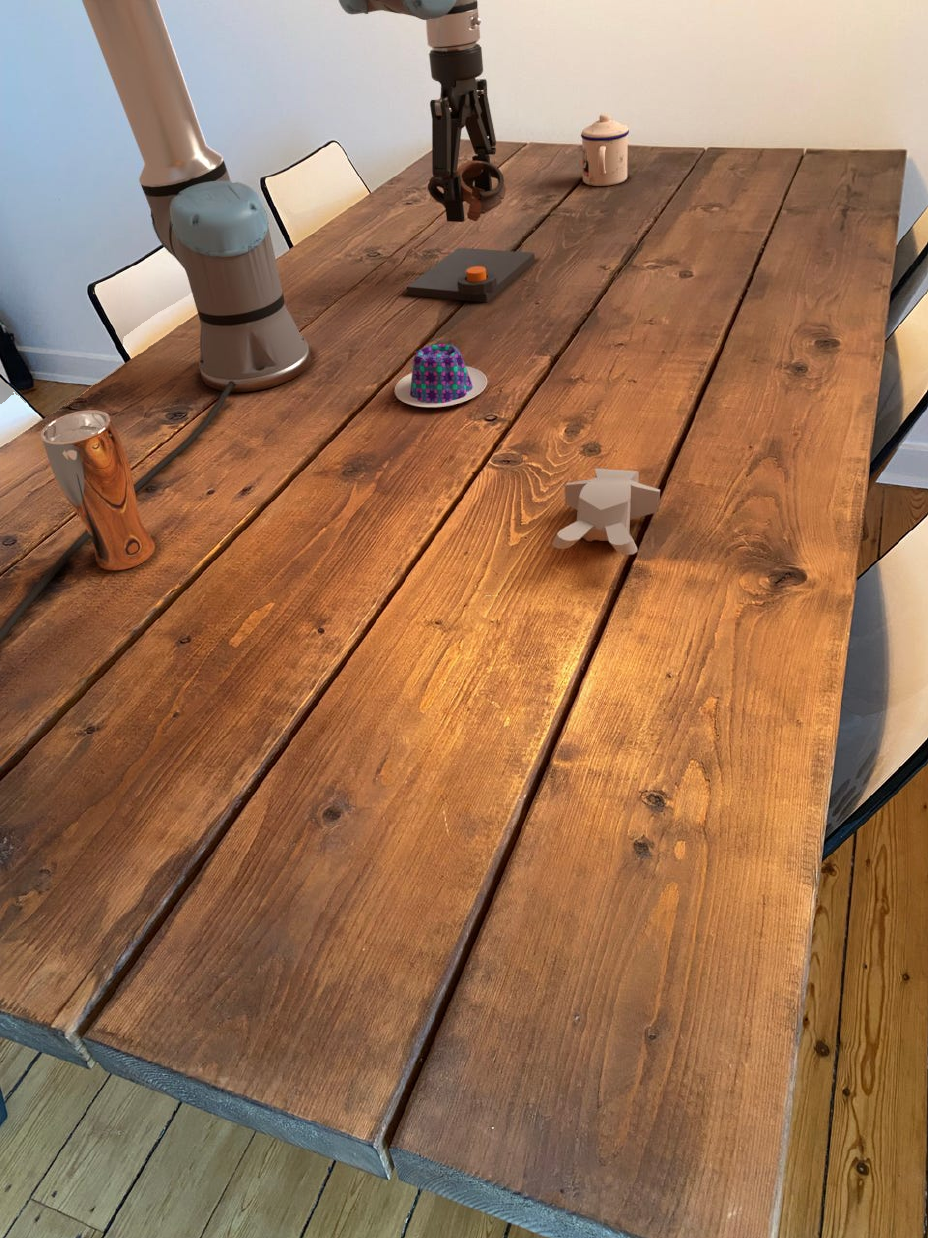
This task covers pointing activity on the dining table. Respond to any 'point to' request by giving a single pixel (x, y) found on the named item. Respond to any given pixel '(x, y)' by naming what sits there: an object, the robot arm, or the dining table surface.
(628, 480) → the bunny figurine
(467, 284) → the scale
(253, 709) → the dining table surface
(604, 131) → the teacup with lid
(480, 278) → the button
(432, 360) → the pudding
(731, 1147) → the dining table surface
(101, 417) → the beer glass
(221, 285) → the robot arm
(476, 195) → the rusty split ring clamp
